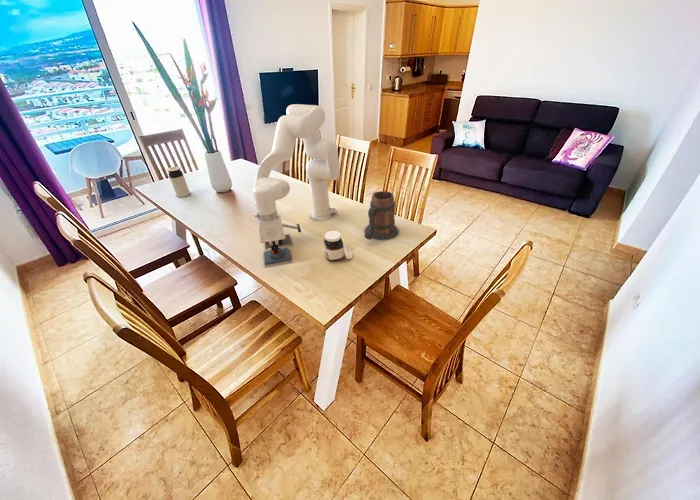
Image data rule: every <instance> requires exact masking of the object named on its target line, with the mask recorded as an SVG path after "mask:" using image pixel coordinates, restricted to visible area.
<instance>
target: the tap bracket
mask: <svg viewBox="0 0 700 500" xmlns="http://www.w3.org/2000/svg"><path fill="white" fill-rule="evenodd" d="M284 235H285V237H286V238H285V239H283V240H281V241H280V242H279V243H278V247H282V246H288V245H292V243H291V242H292V241H291V237H290V234H284ZM272 242H273V243H274V242H275V241H272ZM264 246H265V249H271V246H270V245H269V244H267V243H264ZM274 247H275V246H274Z"/></svg>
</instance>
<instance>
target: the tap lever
mask: <svg viewBox="0 0 700 500" xmlns="http://www.w3.org/2000/svg"><path fill="white" fill-rule="evenodd" d="M282 225H283V228H288V229H293V230H297V232H298V233H302V229H301V226H300V224H299V223H296V225H291V224H285V223H282Z"/></svg>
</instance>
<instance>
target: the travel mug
mask: <svg viewBox="0 0 700 500" xmlns="http://www.w3.org/2000/svg"><path fill="white" fill-rule="evenodd" d="M166 171H167V172H168V178H169V180H170V182H171V185H172V187H173V190H174V192H175V195H176V197H178V198H185V197H187V196H189V195H190V194H191V192H190V189H189V187H188V183H187V181H186V177H185V176H184V173H183V171H182V170H181V167H180V166H179V165H177V166H171V167H168V168H167V169H166Z"/></svg>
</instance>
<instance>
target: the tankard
mask: <svg viewBox="0 0 700 500" xmlns="http://www.w3.org/2000/svg"><path fill="white" fill-rule="evenodd" d="M395 207H396V202H395V195H394V194H393V193H392V192H390V191H386V190H382V191H374V192H373V193H372V195H371V200H370V203H369V208H368V210H367V217H368V225H367V226H366V228H365V230H364V238H365V239H366V240H369V241H370V240H372V239H373V240H377V241H387V240H388V241H389V240H391V239H394V238H395V237H397V235H398V234H399V230H398V228H397V227H396V224H395V223H396V220H395Z"/></svg>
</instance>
